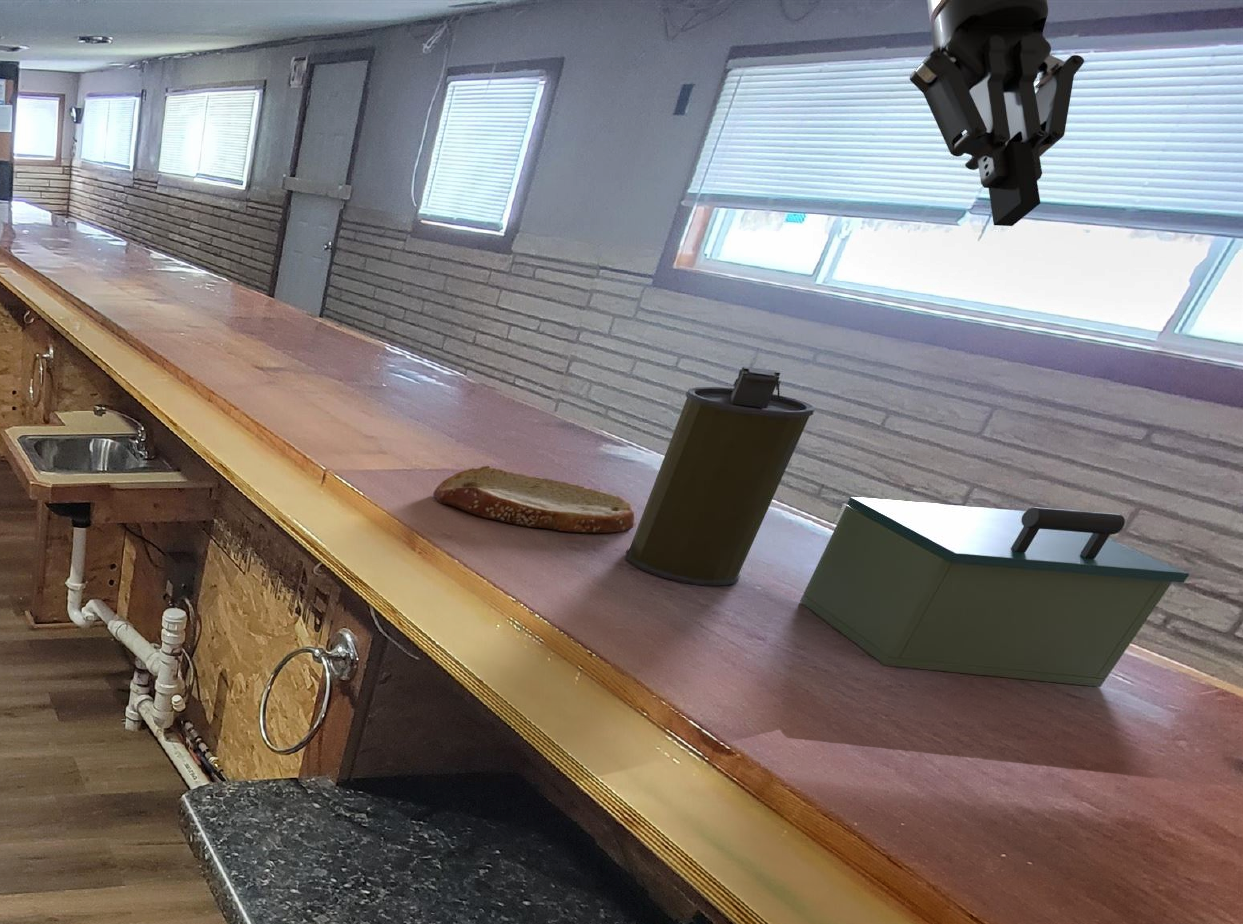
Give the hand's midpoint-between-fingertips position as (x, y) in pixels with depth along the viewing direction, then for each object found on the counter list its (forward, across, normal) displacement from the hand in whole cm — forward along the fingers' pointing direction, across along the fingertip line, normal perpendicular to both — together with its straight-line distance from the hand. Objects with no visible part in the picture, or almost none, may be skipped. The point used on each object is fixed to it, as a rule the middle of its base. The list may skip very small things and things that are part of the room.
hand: (1016, 214), depth 85 cm
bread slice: (+15, +27, -33) cm, 46 cm away
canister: (+26, +16, -23) cm, 38 cm away
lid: (+29, 0, -5) cm, 29 cm away
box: (+35, 0, -13) cm, 38 cm away
